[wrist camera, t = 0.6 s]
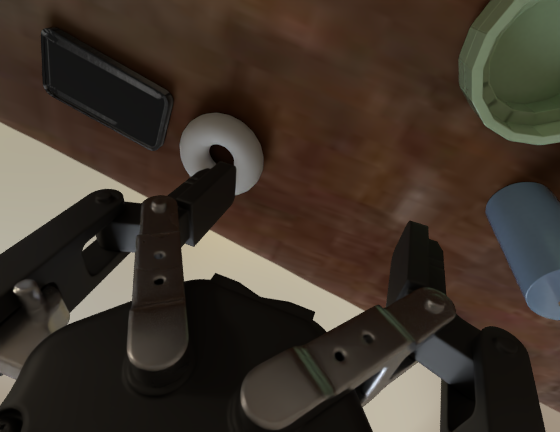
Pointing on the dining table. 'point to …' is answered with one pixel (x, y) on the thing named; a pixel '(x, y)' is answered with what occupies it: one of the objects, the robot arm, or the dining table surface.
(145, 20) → the dining table surface
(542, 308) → the breadstick jar
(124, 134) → the phone
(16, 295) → the robot arm
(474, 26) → the bowl
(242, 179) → the donut
